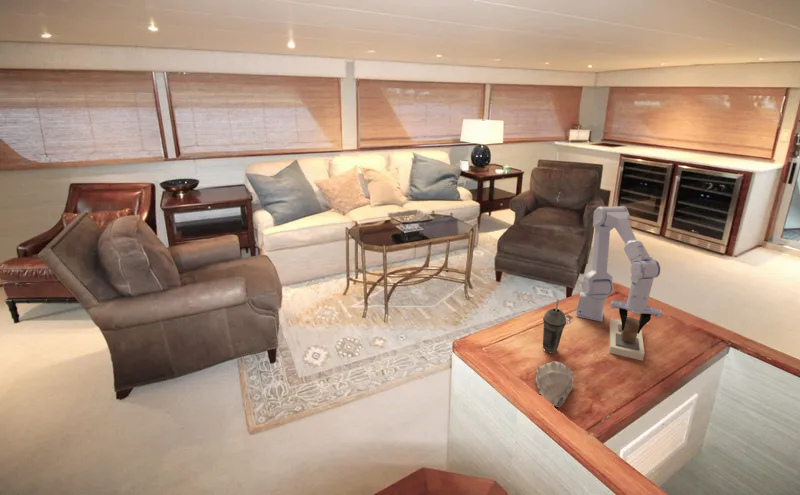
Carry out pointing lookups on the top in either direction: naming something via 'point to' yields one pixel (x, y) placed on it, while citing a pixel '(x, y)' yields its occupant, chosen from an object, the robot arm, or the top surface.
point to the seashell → (554, 382)
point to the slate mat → (627, 343)
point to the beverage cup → (553, 328)
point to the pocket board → (623, 351)
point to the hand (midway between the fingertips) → (630, 330)
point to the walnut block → (630, 330)
